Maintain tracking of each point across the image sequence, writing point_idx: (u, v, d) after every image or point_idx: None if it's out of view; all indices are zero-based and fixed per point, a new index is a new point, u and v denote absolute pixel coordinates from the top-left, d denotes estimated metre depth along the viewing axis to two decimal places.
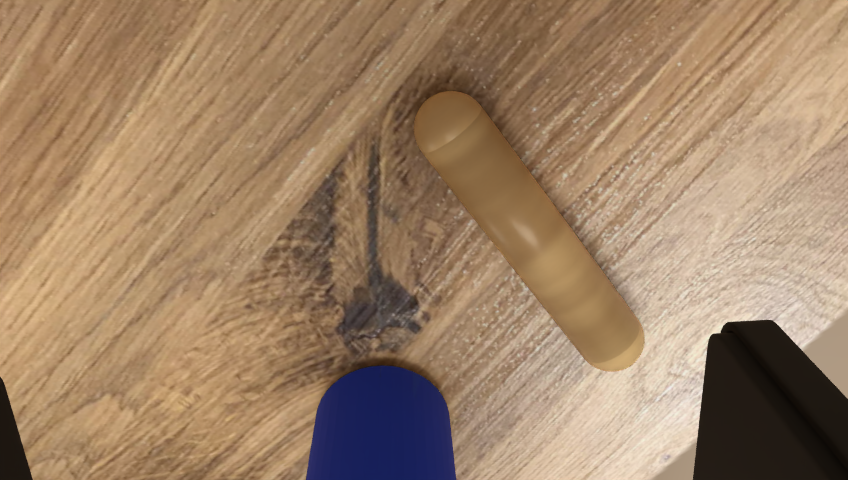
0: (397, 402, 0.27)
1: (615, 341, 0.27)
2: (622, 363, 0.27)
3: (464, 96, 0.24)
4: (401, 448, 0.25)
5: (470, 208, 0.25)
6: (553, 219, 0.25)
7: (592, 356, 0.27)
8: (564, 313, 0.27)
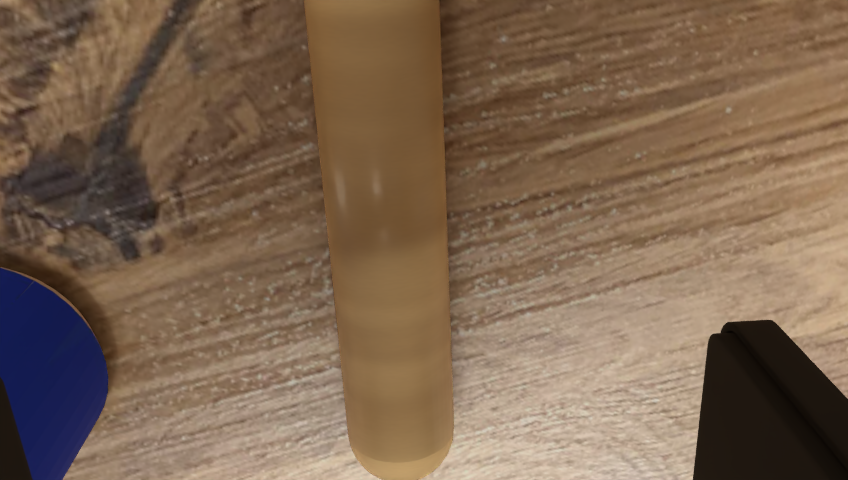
0: (9, 357, 0.14)
1: (409, 440, 0.16)
2: (398, 475, 0.17)
3: None
4: None
5: (322, 115, 0.14)
6: (434, 213, 0.15)
7: (362, 442, 0.17)
8: (362, 360, 0.16)
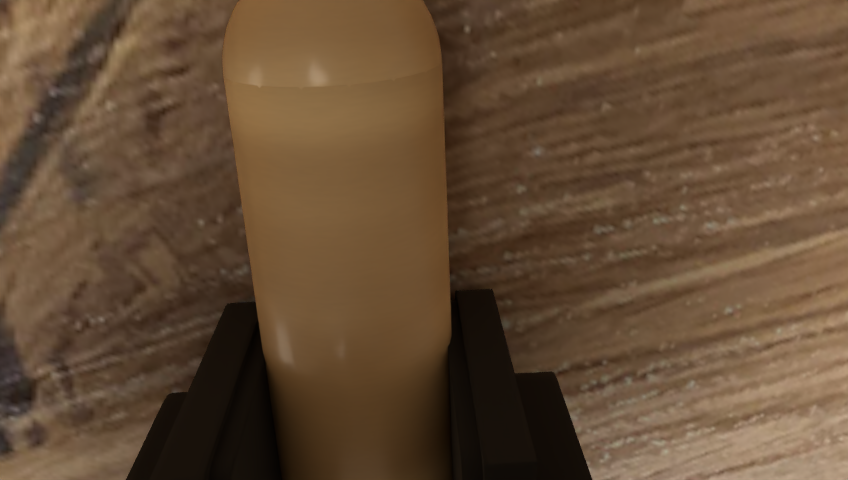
0: None
1: None
2: None
3: (420, 2, 0.08)
4: None
5: (260, 288, 0.09)
6: (437, 424, 0.10)
7: None
8: None
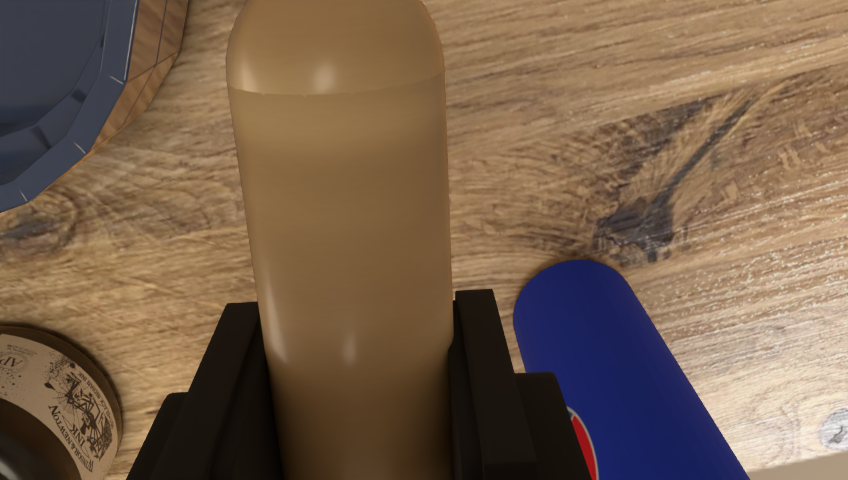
0: (640, 304, 0.30)
1: None
2: None
3: (423, 8, 0.08)
4: (662, 339, 0.27)
5: (263, 293, 0.09)
6: (439, 429, 0.10)
7: None
8: None
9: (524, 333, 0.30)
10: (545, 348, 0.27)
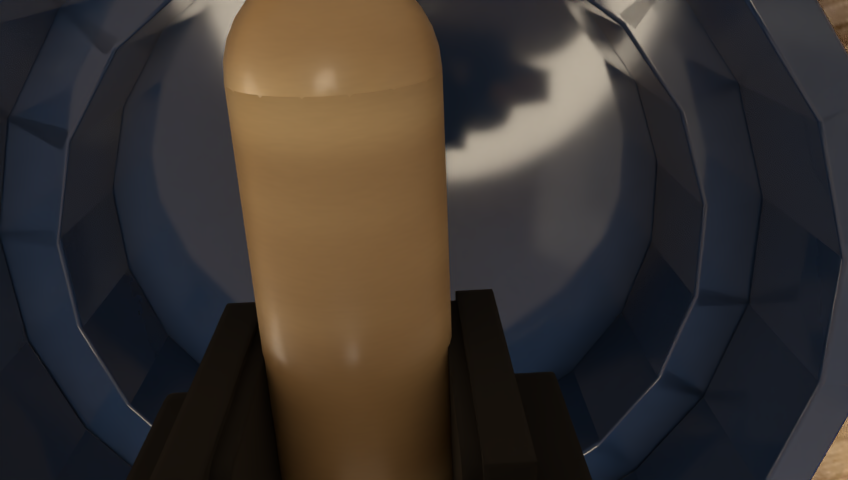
0: None
1: None
2: None
3: (421, 11, 0.08)
4: None
5: (261, 295, 0.09)
6: (437, 431, 0.10)
7: None
8: None
9: None
10: None
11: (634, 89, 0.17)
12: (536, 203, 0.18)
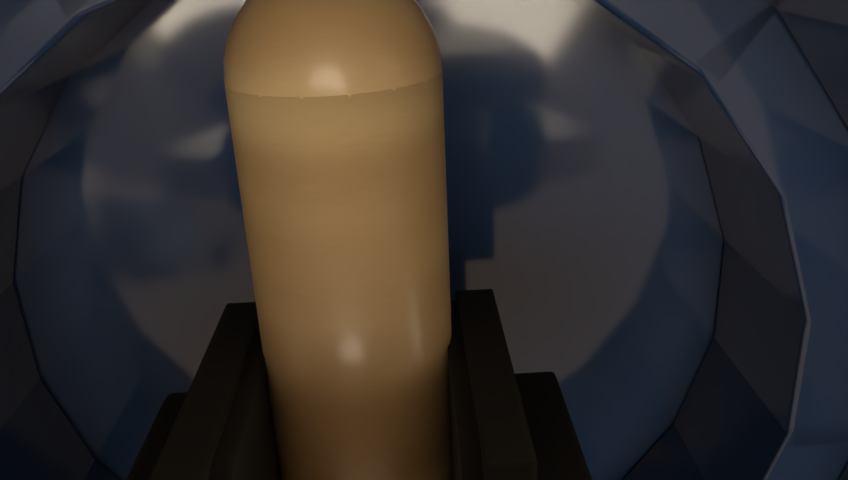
0: None
1: None
2: None
3: (421, 11, 0.08)
4: None
5: (261, 295, 0.09)
6: (437, 430, 0.10)
7: None
8: None
9: None
10: None
11: (94, 450, 0.15)
12: (183, 325, 0.14)
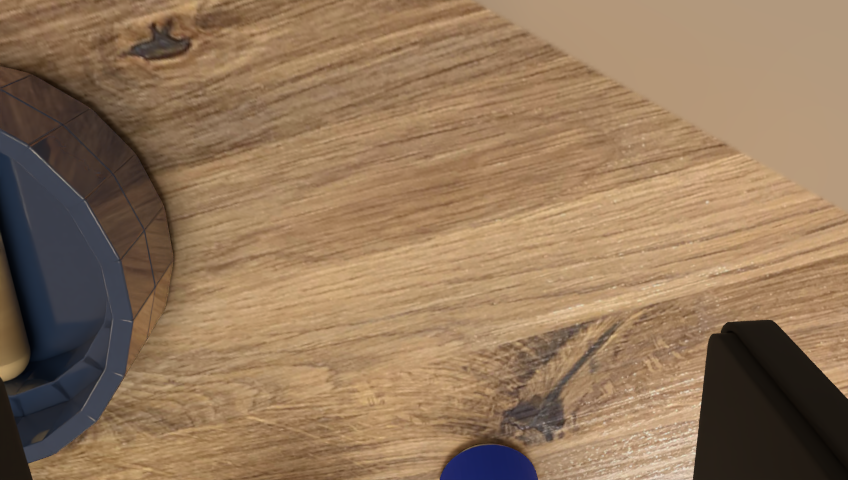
0: None
1: None
2: None
3: None
4: None
5: None
6: None
7: None
8: None
9: None
10: None
11: None
12: (65, 235, 0.34)
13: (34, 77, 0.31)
